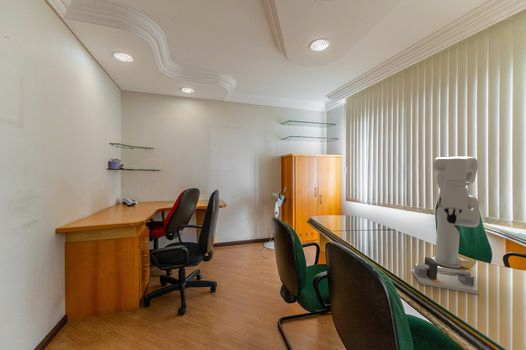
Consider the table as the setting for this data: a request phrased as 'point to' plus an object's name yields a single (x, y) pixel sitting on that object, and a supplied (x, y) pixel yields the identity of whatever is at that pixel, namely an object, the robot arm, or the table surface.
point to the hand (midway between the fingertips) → (451, 222)
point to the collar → (431, 268)
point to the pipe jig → (446, 278)
